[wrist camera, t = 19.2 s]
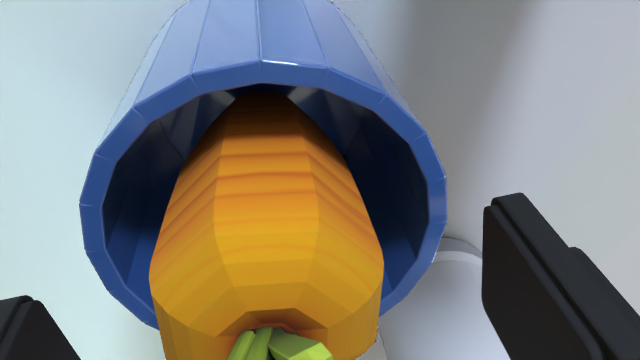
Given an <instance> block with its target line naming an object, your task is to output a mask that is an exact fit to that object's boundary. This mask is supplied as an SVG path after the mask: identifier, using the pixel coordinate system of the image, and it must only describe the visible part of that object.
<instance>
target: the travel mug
mask: <svg viewBox="0 0 640 360" xmlns="http://www.w3.org/2000/svg"><path fill="white" fill-rule="evenodd" d="M481 285H482V253H481V252H480V251H479V250H478V249H476V248H475V247H474V246H472V245H470V244H468V243H466V242H464V241H460V240H456V239H451V238H441V240H440V243H439V246H438V249H437V252H436V254H435V257H434V260H433V262H432V264H431V266H430V267H429V268H428V269H427V271H426V272H425V273H424V275H423V276H422V277H421V279H420V280H419V281H418V282H417V284H416V285H415V286H414V288H413V289H412V290H411V292H410V293H409V294H408V295H407V297H405V298H404V299H403V300H402V301H401V302H399V303H398V304H397V305H395V306H394V307H393V308H391V309H390V310H389V311H387V312H386V313H385V314H383V315H382V316H381V317H380V318H378V327H379V331H380V334H381V338H382V341H383V345H384V348H385V352H386V355H387V359H388V360H511V359H510V358H509V356H508V354H507V352H506V350H505V348H504V346H503V344H502V343H501V341H500V339H499V337H498V335H497V333H496V331H495V329H494V327H493V326H492V324H491V322H490V320H489V318H488V316H487V314H486V312H485V310H484V307H483V304H482V299H481Z"/></svg>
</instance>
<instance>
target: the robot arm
mask: <svg viewBox="0 0 640 360" xmlns="http://www.w3.org/2000/svg"><path fill="white" fill-rule="evenodd" d="M481 299H482V304H483V307H484V310H485V312H486V314H487V316H488V318H489V320H490V322H491V324H492V326H493V327H494V329H495V331H496V333H497V335H498V337H499V339H500V341H501V343H502V344H503V346H504V348H505V350H506V352H507V354H508V356H509V358H510V359H511V360H640V316H639V315H638V314H637V313H636V312H635V310H634V309H633V308H632V307H631V306H630V305H629V303H628V302H627V301H626V300H625V299H624V298H623V297H622V295H621V294H620V293H619V292H618V291H617V290H616V288H615V287H614V286H613V285H612V284H611V283H610V282H609V280H608V279H607V278H606V277H605V276H604V275H603V273H602V272H601V271H600V270H599V269H598V268H597V267H596V265H595V264H594V263H593V262H592V261H591V260H590V258H589V257H588V256H587V255H586V254H585V253H584V252H583V251H582V250H581V249H578V248H576V247H570V248H569V247H568V246H567V245H566V244H565V242H564V241H563V240H562V239H561V238H560V236H559V235H558V234H557V233H556V232H555V230H554V229H553V228H552V227H551V226H550V224H549V223H548V222H547V221H546V220H545V218H544V217H543V216H542V215H541V214H540V212H539V211H538V210H537V209H536V208H535V207H534V205H533V204H532V203H531V202H530V201H529V199H528V198H527V197H526V196H525V195H524V194H523V193H515V194H510V195H505V196H501V197H496V198H493V199H492V201H491V206H487V207H485V208H484V213H483V249H482V285H481ZM0 360H81V359H80V358H79V356H78V355H77V353H76V352H75V350H74V349H73V347H72V346H71V345H70V343H69V342H68V340H67V339H66V337H65V336H64V334H63V333H62V331H61V330H60V328H59V327H58V326H57V324H56V323H55V321H54V320H53V318H52V317H51V315H50V314H49V312H48V311H47V310H46V308H45V307H44V305H43V304H42V303H41V302H40V301H38V300H35V301H34V300H33V299H32V298H31V297H30V296H28V295H25V296H19V297H14V298H9V299H4V300H0Z"/></svg>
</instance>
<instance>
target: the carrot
mask: <svg viewBox="0 0 640 360" xmlns="http://www.w3.org/2000/svg"><path fill="white" fill-rule="evenodd" d="M383 271H384V260H383V255H382V249H381V247H380V244H379V241H378V239H377V236H376V234H375V231H374V228H373V226H372V223H371V221H370V218H369V215H368V213H367V210H366V207H365V205H364V202H363V200H362V197H361V195H360V193H359V190H358V188H357V186H356V184H355V181H354V179H353V177H352V175H351V172H350V170H349V168H348V166H347V163H346V161H345V160H344V158H343V157H342V155H341V154H340V153H339V151H338V150H337V148H336V147H335V146H334V144H333V143H332V141H331V140H330V139H329V138H328V136H327V135H326V134H325V133H324V132H323V130H322V129H321V128H320V127H319V126H318V125H317V123H316V122H315V121H314V120H313V119H312V118H311V117H309V116H308V115H307V114H306V113H305V112H304V111H303V110H302V109H300V108H299V107H298V106H297V105H296V104H295V103H294V102H293V101H291V100H290V99H289V98H288V97H287V96H286V95H285V94H283V93H280V92H277V91H265V92H246V93H243V94H240V95H239V96H238V97H237V98H236V99H235V100H234V101H233V102H232V103H231V104H230V105H229V106H228V107H227V108H226V109H225V110H224V111H223V112H222V113H221V114H220V115H219V116H218V117H217V118H216V119H215V120H214V121H213V122H212V123H211V125H210V126H209V127H208V129H207V130H206V131H205V133H204V134H203V135H202V137H201V138H200V139H199V141H198V142H197V143H196V145H195V147H194V148H193V150H192V152H191V153H190V155H189V156H188V158H187V160H186V161H185V163H184V164H183V166H182V168H181V170H180V173H179V176H178V179H177V182H176V184H175V187H174V190H173V193H172V196H171V198H170V201H169V204H168V207H167V210H166V213H165V216H164V220H163V223H162V226H161V230H160V233H159V236H158V240H157V243H156V246H155V250H154V253H153V256H152V260H151V263H150V271H149V283H150V289H151V295H152V299H153V304H154V308H155V313H156V317H157V322H158V326H159V330H160V335H161V339H162V344H163V348H164V353H165V357H166V359H167V360H355V359H356V358H358V357H359V356H360V355H362V354H363V353H365V352H366V351H367V350H368V349H369V348H370V347H371V346H372V345H373V344H374V343H375V342H376V335H377V326H378V317H379V309H380V300H381V291H382V283H383Z"/></svg>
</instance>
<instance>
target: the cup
mask: <svg viewBox="0 0 640 360" xmlns="http://www.w3.org/2000/svg"><path fill="white" fill-rule="evenodd" d="M265 91H277V92H280V93H283V94H285V95H286V96H287V97H288V98H289V99H290V100H291V101H293V102H294V103H295V104H296V105H297V106H298V107H299V108H300V109H302V110H303V111H304V112H305V113H306V114H307V115H308V116H309V117H311V118H312V119H313V120H314V121H315V122H316V123H317V125H318V126H319V127H320V128H321V129H322V130H323V132H324V133H325V134H326V135H327V136H328V138H329V139H330V140H331V141H332V143H333V144H334V146H335V147H336V148H337V150H338V151H339V153H340V154H341V155H342V157H343V158H344V160H345V161H346V163H347V166H348V168H349V170H350V172H351V175H352V177H353V179H354V181H355V184H356V186H357V188H358V190H359V193H360V195H361V197H362V200H363V202H364V205H365V207H366V210H367V213H368V215H369V218H370V221H371V223H372V226H373V228H374V231H375V234H376V236H377V239H378V241H379V244H380V247H381V249H382V255H383V260H384V271H383V283H382V291H381V300H380V309H379V317H378V318H380V317H381V316H382V315H383V314H385V313H386V312H387V311H389V310H390V309H391V308H393V307H394V306H395V305H397V304H398V303H399V302H401V301H402V300H403V299H404V298H405V297H407V295H408V294H409V293H410V292H411V290H412V289H413V288H414V286H415V285H416V284H417V282H418V281H419V280H420V279H421V277H422V276H423V275H424V273H425V272H426V271H427V269H428V268H429V267H430V266H431V264H432V262H433V260H434V257H435V254H436V252H437V249H438V246H439V243H440V240H441V238H442V235H443V232H444V229H445V226H446V223H447V185H446V176H445V171H444V169H443V167H442V165H441V162H440V160H439V158H438V156H437V153H436V151H435V149H434V147H433V144H432V142H431V140H430V138H429V135H428V133H427V131H426V130H425V128H424V127H423V125H422V124H421V122H420V121H419V120H418V118H417V117H416V115H415V114H414V112H413V111H412V109H411V108H410V106H409V105H408V103H407V102H406V100H405V99H404V97H403V96H402V94H401V93H400V91H399V90H398V88H397V87H396V85H395V84H394V82H393V81H392V79H391V78H390V76H389V75H388V73H387V72H386V70H385V69H384V67H383V66H382V64H381V63H380V61H379V60H378V58H377V57H376V55H375V54H374V52H373V51H372V49H371V48H370V46H369V45H368V43H367V42H366V40H365V39H364V37H363V36H362V34H361V33H360V31H359V30H358V29H357V28H356V27H355V26H354V25H353V24H352V23H351V21H350V20H349V19H348V18H347V17H346V16H345V15H344V14H343V13H342V12H341V11H340V10H339V9H338V8H337V7H335V6H334V5H333V4H332V3H331V2H329V1H328V0H189V1H188V2H186V3H185V4H184V5H183V6H182V7H180V8H179V9H178V10H177V11H176V12H175V13H174V14H173V15H172V16H171V17H170V19H169V20H168V21H167V22H166V23H165V25H164V26H163V28H162V29H161V31H160V32H159V33H158V35H157V36H156V37H155V38H154V40H153V42H152V43H151V45H150V47H149V49H148V51H147V53H146V55H145V57H144V59H143V61H142V62H141V64H140V66H139V68H138V70H137V72H136V74H135V76H134V78H133V80H132V81H131V83H130V85H129V87H128V89H127V91H126V93H125V95H124V97H123V99H122V100H121V102H120V104H119V106H118V108H117V110H116V112H115V114H114V116H113V118H112V119H111V121H110V123H109V125H108V127H107V129H106V131H105V133H104V135H103V137H102V138H101V140H100V142H99V144H98V146H97V148H96V150H95V152H94V154H93V157H92V160H91V163H90V167H89V170H88V173H87V176H86V180H85V183H84V186H83V189H82V193H81V196H80V199H79V201H80V203H79V209H80V217H81V225H82V233H83V241H84V249H85V250H86V254H87V256H88V258H89V259H90V261H91V263H92V265H93V266H94V268H95V270H96V272H97V273H98V275H99V277H100V279H101V280H102V282H103V284H104V286H105V287H106V289H107V291H109V293H110V294H111V295H112V296H113V297H114V298H115V299H117V300H118V301H119V302H120V303H121V304H122V305H123V306H125V307H126V308H127V309H128V310H129V311H130V312H131V313H133V314H134V315H135V316H136V317H137V318H138V319H139V320H141V321H142V322H144V323H145V324H146V325H148V326H151V327H153V328H155V329H157V330H159V326H158V322H157V317H156V313H155V308H154V304H153V299H152V295H151V289H150V283H149V271H150V263H151V260H152V256H153V253H154V250H155V246H156V243H157V240H158V236H159V233H160V230H161V226H162V223H163V220H164V216H165V213H166V210H167V207H168V204H169V201H170V198H171V196H172V193H173V190H174V187H175V184H176V182H177V179H178V176H179V173H180V170H181V168H182V166H183V164H184V163H185V161H186V160H187V158H188V156H189V155H190V153H191V152H192V150H193V148H194V147H195V145H196V143H197V142H198V141H199V139H200V138H201V137H202V135H203V134H204V133H205V131H206V130H207V129H208V127H209V126H210V125H211V123H212V122H213V121H214V120H215V119H216V118H217V117H218V116H219V115H220V114H221V113H222V112H223V111H224V110H225V109H226V108H227V107H228V106H229V105H230V104H231V103H232V102H233V101H234V100H235V99H236V98H237V97H238V96H239V95H240V94H243V93H246V92H265ZM159 331H160V330H159Z"/></svg>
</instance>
